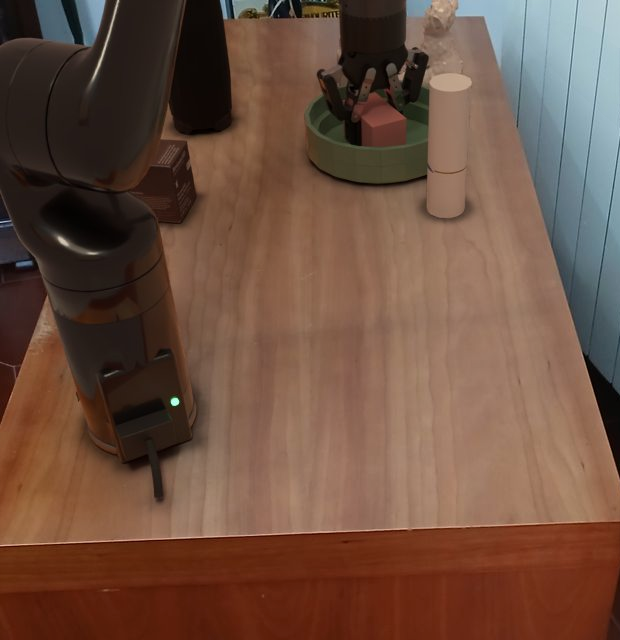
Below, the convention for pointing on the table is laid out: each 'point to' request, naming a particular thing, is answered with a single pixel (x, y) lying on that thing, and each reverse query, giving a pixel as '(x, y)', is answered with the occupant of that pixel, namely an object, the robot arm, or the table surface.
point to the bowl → (368, 161)
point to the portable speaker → (201, 70)
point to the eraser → (381, 124)
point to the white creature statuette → (439, 41)
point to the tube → (448, 144)
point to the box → (168, 182)
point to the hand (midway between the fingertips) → (374, 140)
